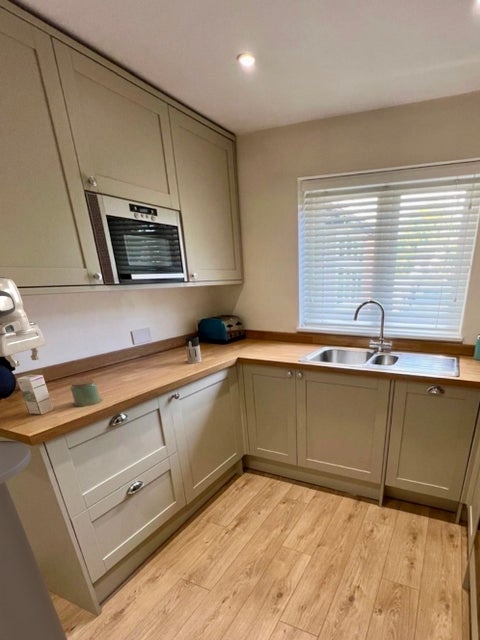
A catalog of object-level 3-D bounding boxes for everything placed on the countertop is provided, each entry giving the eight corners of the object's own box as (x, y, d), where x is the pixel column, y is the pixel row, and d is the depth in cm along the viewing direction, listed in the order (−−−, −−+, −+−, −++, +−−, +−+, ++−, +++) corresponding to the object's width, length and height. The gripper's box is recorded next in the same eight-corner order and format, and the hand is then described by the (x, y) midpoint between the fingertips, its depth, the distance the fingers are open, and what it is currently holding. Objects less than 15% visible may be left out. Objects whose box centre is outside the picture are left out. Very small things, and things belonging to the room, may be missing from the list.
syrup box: (54, 409, 131) (43, 374, 126) (41, 415, 126) (29, 378, 121) (41, 408, 132) (30, 373, 127) (28, 414, 127) (15, 378, 122)
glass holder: (203, 359, 209) (200, 335, 204) (199, 365, 196) (196, 339, 191) (188, 360, 208) (185, 336, 202) (184, 365, 195) (180, 340, 189)
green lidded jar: (92, 406, 135) (86, 385, 131) (70, 406, 134) (64, 385, 131) (104, 398, 143) (99, 378, 140) (83, 398, 143) (78, 378, 140)
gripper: (27, 321, 127) (38, 356, 132) (-22, 329, 108) (-7, 370, 113) (44, 321, 127) (54, 356, 132) (-2, 329, 108) (12, 370, 113)
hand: (26, 362), depth 122 cm, fingers open, 8 cm apart
